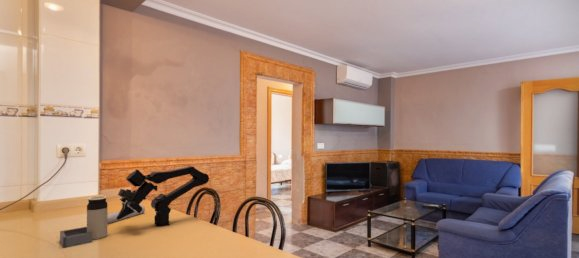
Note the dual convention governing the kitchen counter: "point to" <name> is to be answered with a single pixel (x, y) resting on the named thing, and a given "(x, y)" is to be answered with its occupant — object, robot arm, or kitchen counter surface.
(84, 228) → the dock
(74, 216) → the kitchen counter surface
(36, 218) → the kitchen counter surface
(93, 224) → the travel mug
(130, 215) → the tube
